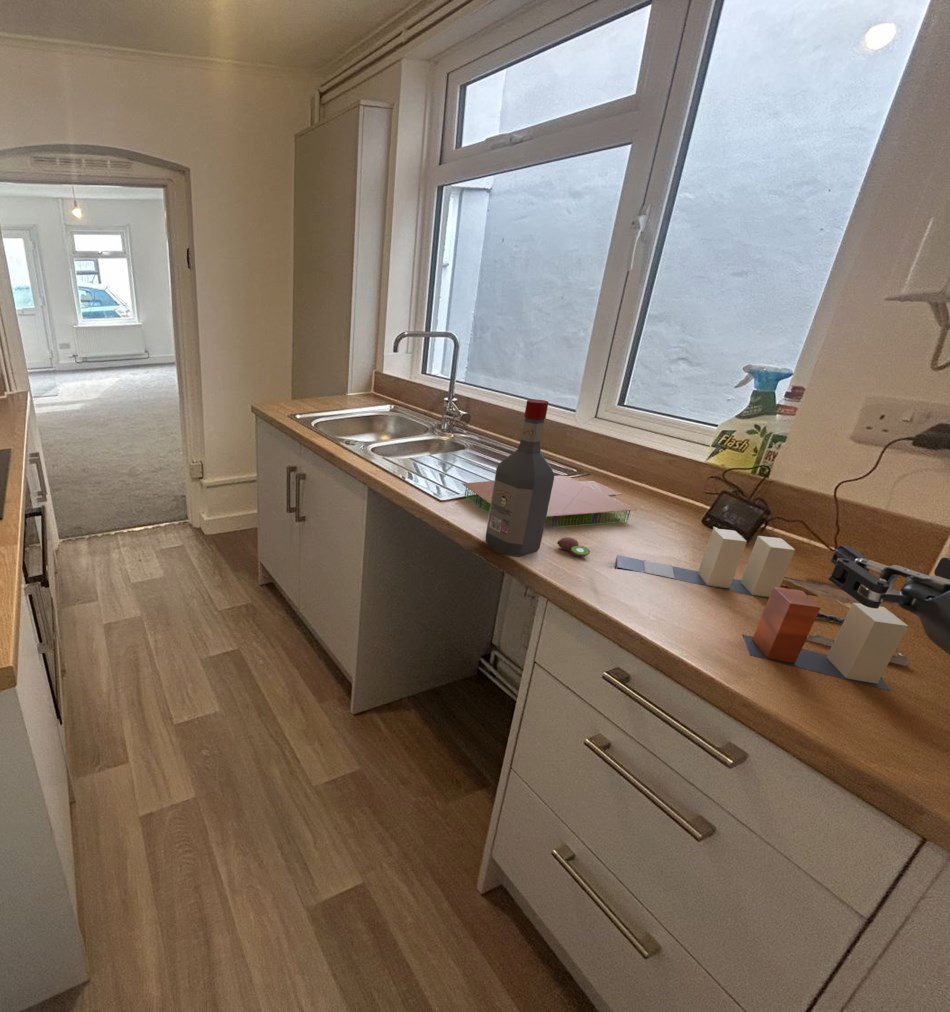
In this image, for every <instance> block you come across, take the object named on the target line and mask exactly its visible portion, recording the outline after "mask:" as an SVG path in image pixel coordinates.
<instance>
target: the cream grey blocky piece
mask: <svg viewBox="0 0 950 1012" xmlns="http://www.w3.org/2000/svg"><path fill="white" fill-rule="evenodd" d="M747 543H748V541H747V540H746V539H745V538H744V537H743V536H742V535H741V534H740V533H738V531H736V530H733V529H725V528H724V529H723V528H714V527H713V528H712V531H711V534H710V537H709V539H708V543H707V545H706V548H705V551H704V554H703V557H702V560H701V562H700V566H699V569H698V570H694V569H688V568H682V567H678V566H673V565H670V564H666V563H665V564H664V563H662V562H661V563H660V562H656V561H651V560H646V559H639V558H635V557H634V558H633V557H629V556H624V555H619V554H617V555H616V558H615V561H614V562H615V564H614V565H615V566H614V567H615V568H614V569H615V570H620V571H627V572H628V571H629V572H635V573H643V574H646V575H653V576H656V577H661V578H666V579H671V580H676V581H680V582H684V583H689V584H693V585H694V584H695V585H699V586H704V587H708V588H713V589H718V590H723V591H727V592H733V593H737V594H741V595H746V596H751V597H756V598H760V599H765V600H769V597H770V595H771V592H772V590H773V587H780V588H781V586H782V585H783V584H782V581H783V579H784V577H786V574H787V571H788V569H789V567H790V564H791V563H792V559H793V557H794V554H795V552H796V549H795V548H794V547H793V546H792V545H790V544H789V543H787V541H785V540H784V539H782V538H781V537H773V536H765V535H764V536H763V535H757V537H756V539H755V542H754V545H753V548H752V550H751V552H750V555H749V557H748V561H747V563H746V566H745V569H744V571H743V574H742V577H741V579H739V578H735V575H736V573H737V570H738V567H739V565H740V561H741V559H742V557H743V553H744V551H745V548H746V546H747Z"/></svg>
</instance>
